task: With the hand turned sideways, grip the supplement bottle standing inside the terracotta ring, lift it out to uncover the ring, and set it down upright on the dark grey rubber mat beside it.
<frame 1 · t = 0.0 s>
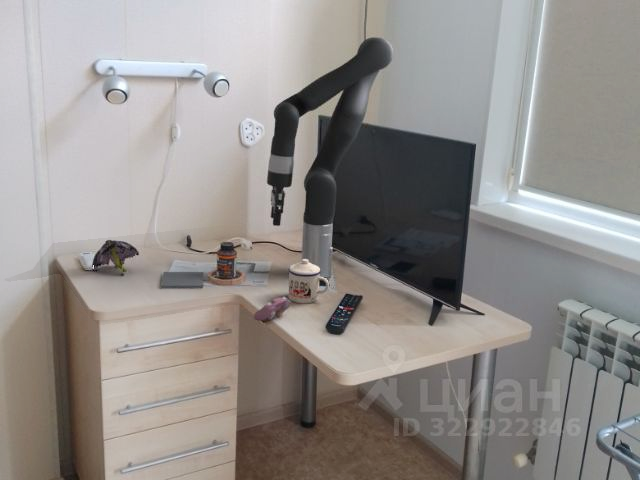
hand: (275, 221, 210), 17 cm above the table, tool pointing down, fingers open, 8 cm apart
video game controller: (272, 318, 182), on the table
grey mat: (182, 281, 205), on the table
teacup with lid: (308, 299, 196), on the table
supplement bottle: (226, 279, 209), resting in terracotta ring
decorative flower: (114, 273, 210), on the table
terracotta ring: (226, 278, 209), on the table
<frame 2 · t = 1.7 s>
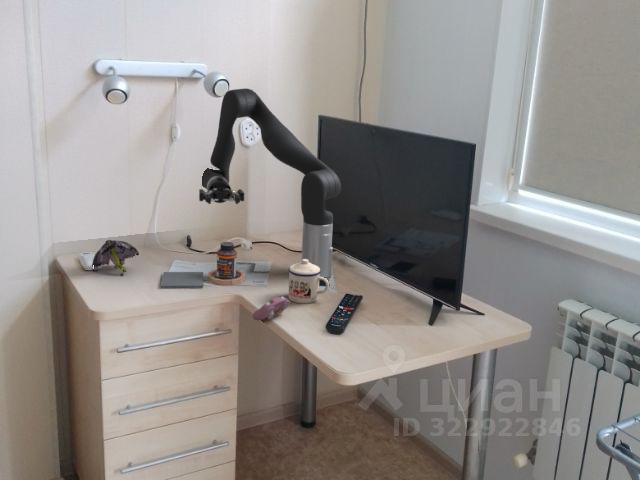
hand: (223, 200, 213), 22 cm above the table, tool horizontal, fingers open, 8 cm apart
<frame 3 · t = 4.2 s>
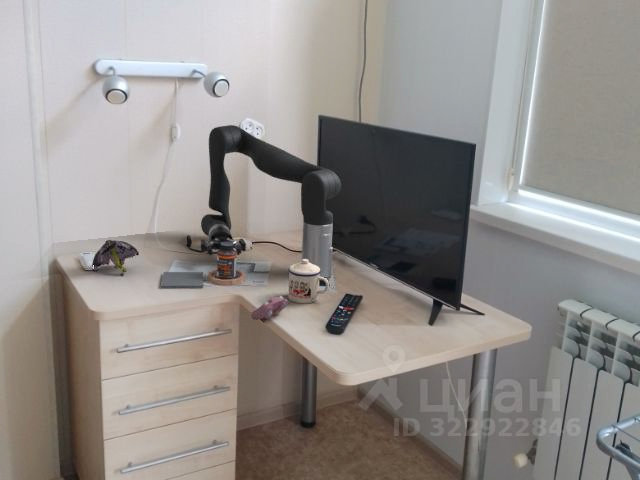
hand: (224, 252, 213), 7 cm above the table, tool horizontal, fingers open, 8 cm apart
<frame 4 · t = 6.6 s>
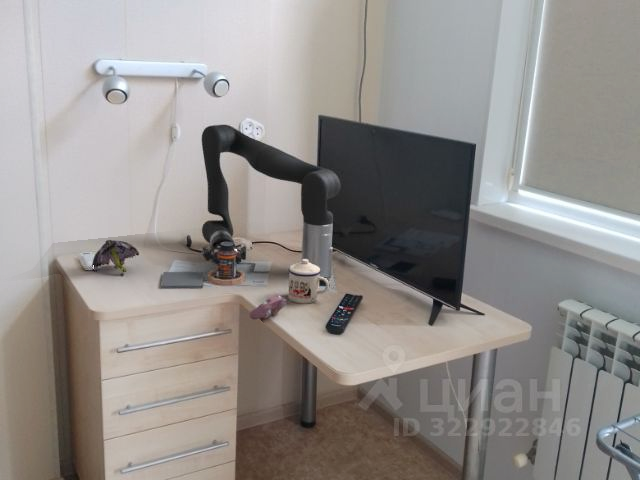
hand: (227, 260, 205), 7 cm above the table, tool horizontal, fingers closed on supplement bottle, 6 cm apart
supplement bottle: (226, 279, 209), resting in terracotta ring, touching gripper
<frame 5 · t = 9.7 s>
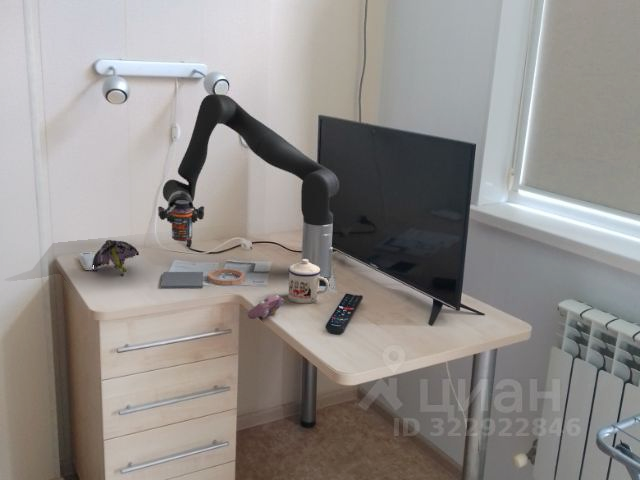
hand: (182, 219, 197), 20 cm above the table, tool horizontal, fingers closed on supplement bottle, 6 cm apart
supplement bottle: (182, 239, 202), point 13 cm above the table, touching gripper
when the fingers open (9 cm above the table, at t = 12.7 s): supplement bottle drops 1 cm, resting on grey mat.
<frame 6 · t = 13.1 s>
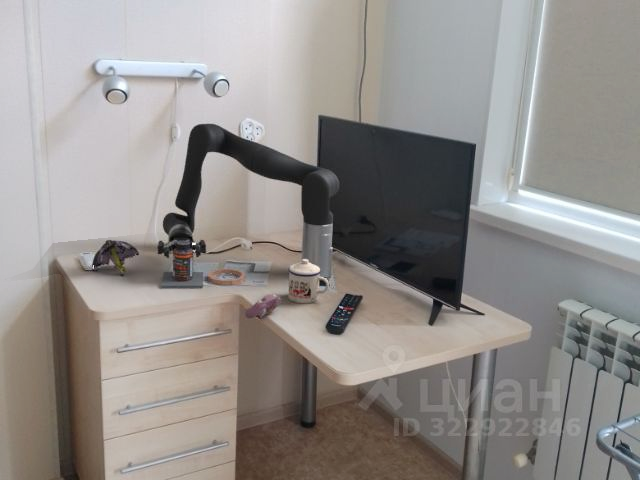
hand: (182, 254, 201), 9 cm above the table, tool horizontal, fingers open, 8 cm apart
supplement bottle: (183, 278, 205), point 1 cm above the table, touching grey mat
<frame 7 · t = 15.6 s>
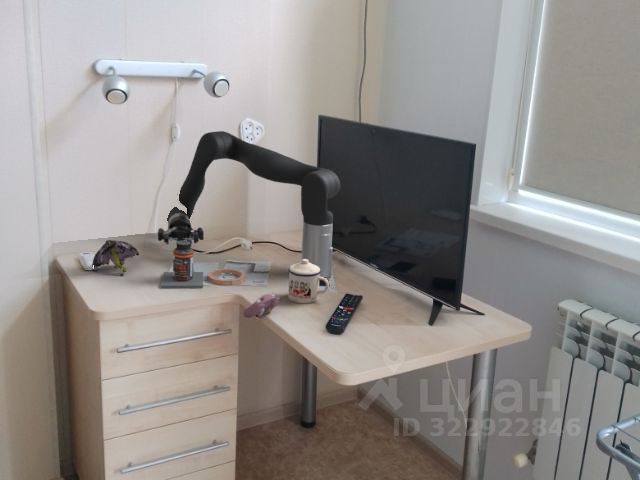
hand: (181, 240, 213), 9 cm above the table, tool horizontal, fingers open, 8 cm apart
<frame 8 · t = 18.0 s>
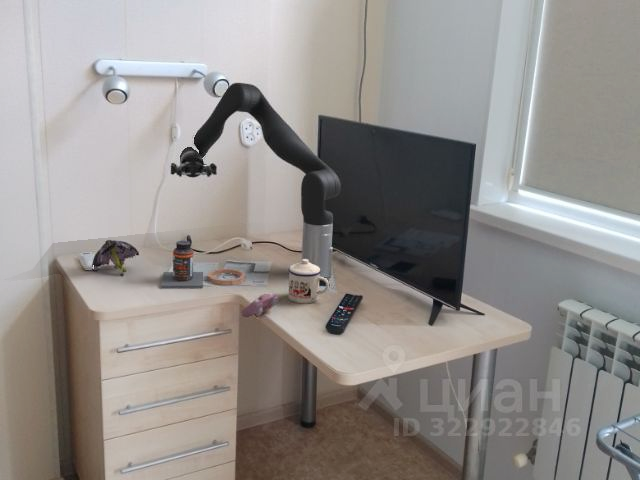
hand: (194, 173, 210), 30 cm above the table, tool horizontal, fingers open, 8 cm apart
at the end: supplement bottle inside the target area on the grey mat (0.2 cm from its centre), point 0.6 cm above the grey mat's base; supplement bottle tilted 0°; the gripper is holding nothing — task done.
